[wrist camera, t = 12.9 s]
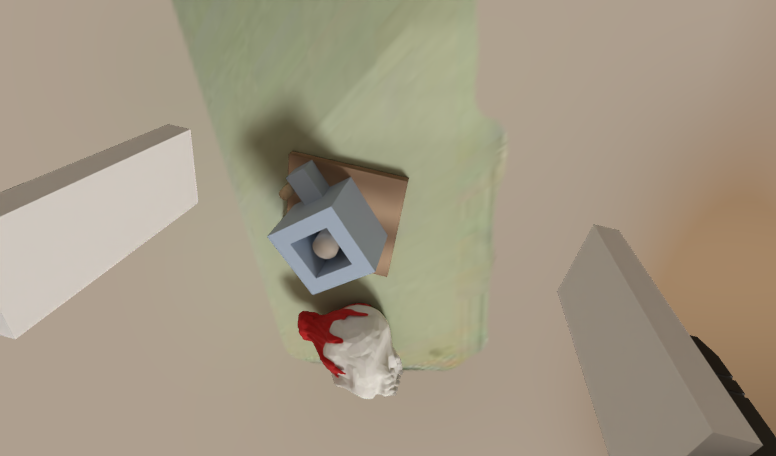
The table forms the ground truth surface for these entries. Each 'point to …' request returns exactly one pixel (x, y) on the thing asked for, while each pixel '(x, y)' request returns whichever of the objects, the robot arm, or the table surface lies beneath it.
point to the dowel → (286, 192)
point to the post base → (376, 189)
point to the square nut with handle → (343, 220)
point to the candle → (355, 348)
